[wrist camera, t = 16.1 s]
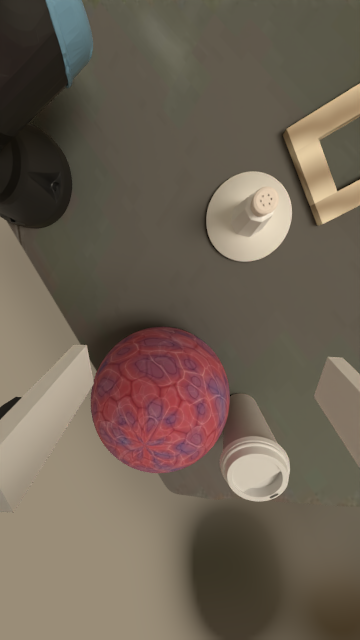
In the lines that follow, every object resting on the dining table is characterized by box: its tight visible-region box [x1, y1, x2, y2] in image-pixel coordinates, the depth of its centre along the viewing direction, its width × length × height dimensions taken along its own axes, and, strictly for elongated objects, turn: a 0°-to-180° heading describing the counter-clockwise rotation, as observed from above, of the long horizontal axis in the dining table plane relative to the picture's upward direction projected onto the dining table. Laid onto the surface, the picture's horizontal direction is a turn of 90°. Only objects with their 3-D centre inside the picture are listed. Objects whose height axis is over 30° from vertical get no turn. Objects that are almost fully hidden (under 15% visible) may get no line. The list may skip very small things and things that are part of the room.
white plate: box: [206, 172, 292, 262], centre depth 35 cm, size 13×13×1 cm
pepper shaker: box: [230, 186, 279, 237], centre depth 30 cm, size 5×5×11 cm
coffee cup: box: [220, 393, 290, 501], centre depth 37 cm, size 10×10×15 cm
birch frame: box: [283, 84, 360, 226], centre depth 31 cm, size 14×14×2 cm
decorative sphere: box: [91, 327, 230, 473], centre depth 34 cm, size 20×20×20 cm
